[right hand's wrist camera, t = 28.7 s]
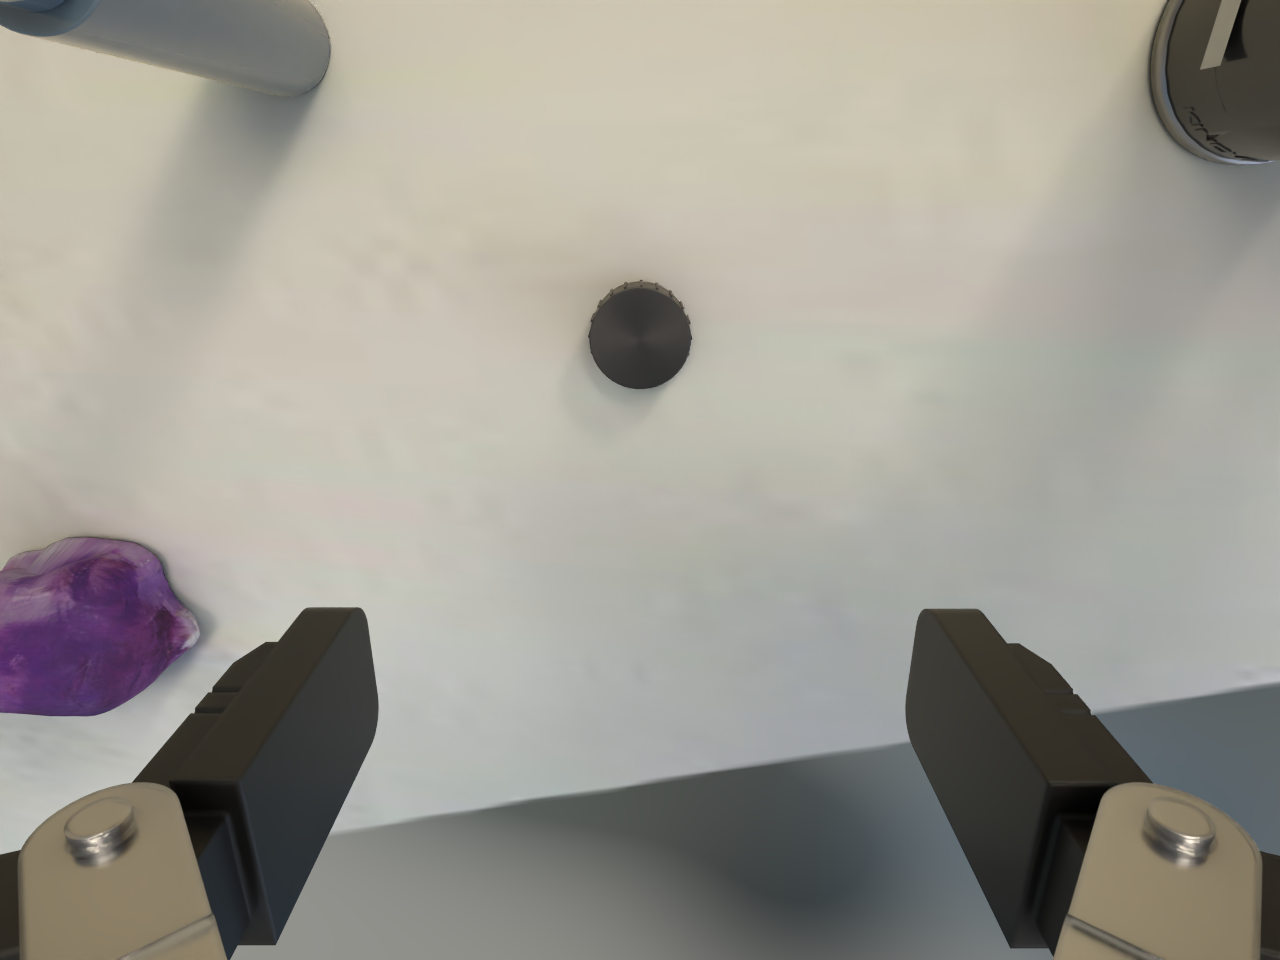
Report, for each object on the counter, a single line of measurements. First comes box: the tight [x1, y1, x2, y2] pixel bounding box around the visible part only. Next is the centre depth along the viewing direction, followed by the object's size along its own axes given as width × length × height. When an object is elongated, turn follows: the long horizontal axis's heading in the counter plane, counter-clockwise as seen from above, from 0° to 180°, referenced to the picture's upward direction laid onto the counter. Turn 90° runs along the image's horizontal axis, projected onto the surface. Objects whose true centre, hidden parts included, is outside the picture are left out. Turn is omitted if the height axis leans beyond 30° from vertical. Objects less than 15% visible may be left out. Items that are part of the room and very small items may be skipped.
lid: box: [588, 280, 692, 389], centre depth 36 cm, size 5×5×2 cm
